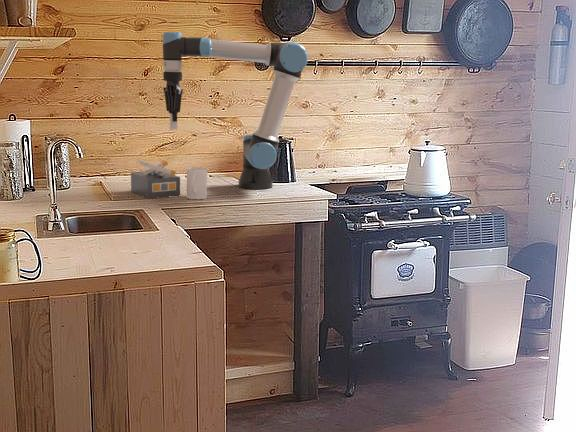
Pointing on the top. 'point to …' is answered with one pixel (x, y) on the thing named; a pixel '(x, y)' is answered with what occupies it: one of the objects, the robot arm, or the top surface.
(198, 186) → the mug
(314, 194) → the top surface
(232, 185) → the top surface
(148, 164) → the rocker
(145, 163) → the rocker
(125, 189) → the top surface
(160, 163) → the rocker
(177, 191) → the control box
